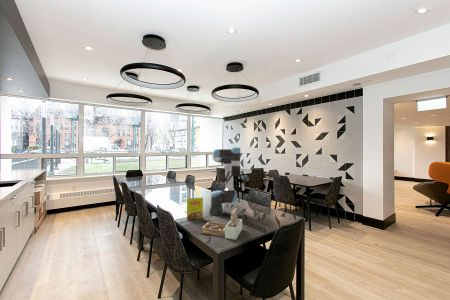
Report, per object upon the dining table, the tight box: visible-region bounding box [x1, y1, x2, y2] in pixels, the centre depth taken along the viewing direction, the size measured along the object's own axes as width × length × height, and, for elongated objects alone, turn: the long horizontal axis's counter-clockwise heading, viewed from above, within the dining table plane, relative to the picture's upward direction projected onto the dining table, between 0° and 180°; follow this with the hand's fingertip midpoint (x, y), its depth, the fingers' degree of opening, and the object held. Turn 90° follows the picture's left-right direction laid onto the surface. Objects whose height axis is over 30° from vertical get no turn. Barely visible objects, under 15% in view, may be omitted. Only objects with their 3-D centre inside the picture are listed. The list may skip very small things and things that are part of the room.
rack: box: [200, 221, 228, 237], centre depth 177 cm, size 16×19×4 cm
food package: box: [186, 197, 204, 220], centre depth 206 cm, size 15×1×20 cm, turn 106°
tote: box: [224, 218, 243, 240], centre depth 171 cm, size 21×9×9 cm, turn 162°
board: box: [230, 207, 238, 227], centre depth 171 cm, size 2×12×18 cm, turn 162°
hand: (235, 189), depth 184 cm, fingers open, 13 cm apart
